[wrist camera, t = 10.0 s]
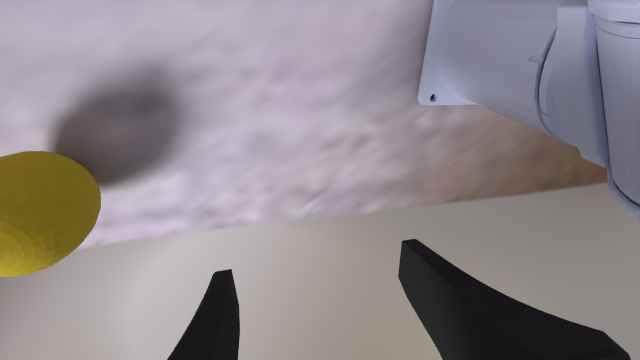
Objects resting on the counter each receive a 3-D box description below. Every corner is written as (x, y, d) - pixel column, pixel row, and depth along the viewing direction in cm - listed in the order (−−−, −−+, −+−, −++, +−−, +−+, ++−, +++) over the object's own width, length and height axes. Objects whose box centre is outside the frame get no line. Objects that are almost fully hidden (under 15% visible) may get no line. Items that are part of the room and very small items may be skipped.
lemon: (28, 113, 18) (-109, 180, 11) (133, 157, 20) (73, 235, 13) (3, 191, 20) (-129, 292, 13) (103, 224, 22) (36, 324, 15)
